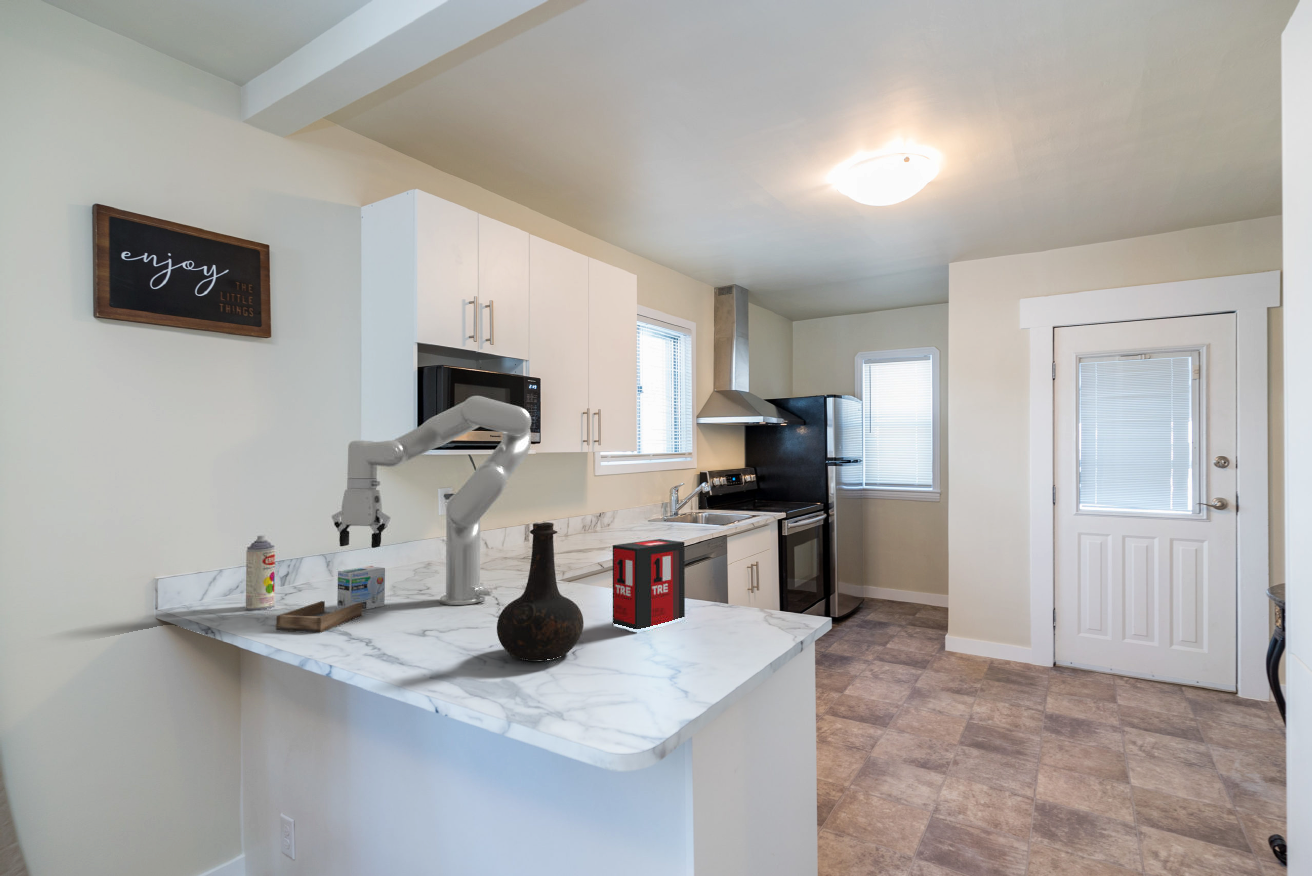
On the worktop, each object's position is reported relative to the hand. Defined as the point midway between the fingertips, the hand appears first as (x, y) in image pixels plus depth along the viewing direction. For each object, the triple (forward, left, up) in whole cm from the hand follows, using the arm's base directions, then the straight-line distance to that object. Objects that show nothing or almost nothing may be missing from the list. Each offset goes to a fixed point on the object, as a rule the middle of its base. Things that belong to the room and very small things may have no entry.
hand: (360, 546), depth 180 cm
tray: (0, +16, -17) cm, 23 cm away
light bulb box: (0, 0, -17) cm, 17 cm away
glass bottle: (-64, +32, -17) cm, 74 cm away
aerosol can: (+28, +4, -17) cm, 33 cm away
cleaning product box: (-82, +3, -17) cm, 84 cm away
